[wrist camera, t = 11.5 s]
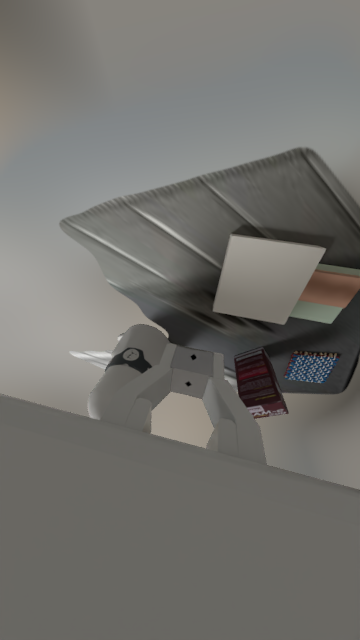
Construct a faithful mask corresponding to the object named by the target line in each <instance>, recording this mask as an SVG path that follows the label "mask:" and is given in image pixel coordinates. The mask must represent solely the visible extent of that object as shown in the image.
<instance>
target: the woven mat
mask: <svg viewBox="0 0 360 640" xmlns="http://www.w3.org/2000/svg"><path fill="white" fill-rule="evenodd" d="M326 354H327V353H324V354H322V353H319V354H318V355H317V353H314V354H312V353H310V352H309V354H308V352H304V353H302V351H300V353H298V352H297V351H295V352H294V353H293V355H291V356H292V357H291V360H290V362H289V363H288V365H289V366H288V368H287V370H286V371H287V372H285V373H286V374H285V375H284V376H285V379H291V380H295V379H296V380H297V381H299V380H302V381H309V382H310V381H311V382H312V381H314V382H315V383H316V382H320V383H324V382H325V381H326V379H327V378H328V377H329V374H330V373H331V370H332V369H333V368H334V366H335V365H336V362H337V360H339V357H338V356H336V355H337V353H335V354H334V355H333V354H328V355H326ZM334 360H335V361H334ZM293 361H294V362H293ZM334 364H335V365H334Z"/></svg>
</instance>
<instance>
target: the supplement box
mask: <svg viewBox="0 0 360 640" xmlns="http://www.w3.org/2000/svg"><path fill="white" fill-rule="evenodd" d="M234 362H235V370H236V378H237V386H238V395H239V398H240V399H241V401H242V402H243V403H244V405H245V406H246V408H247V409H248V410H249V412H250V413H251V415H252V416H253V418H254V419H255V418H261V417H268V416H274V415H281V414H288V410H287V407H286V404H285V401H284V398H283V395H282V392H281V389H280V387H279V384H278V381H277V378H276V375H275V372H274V369H273V367H272V364H271V361H270V358H269V356H268V355H267V353H266V352H265V350H264V348H263V347H261V348H258V349H255V350H252V351H249V352H246V353H243V354H240V355H237V356H234Z"/></svg>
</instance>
